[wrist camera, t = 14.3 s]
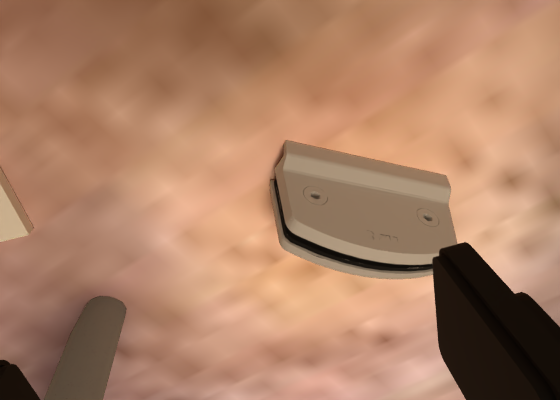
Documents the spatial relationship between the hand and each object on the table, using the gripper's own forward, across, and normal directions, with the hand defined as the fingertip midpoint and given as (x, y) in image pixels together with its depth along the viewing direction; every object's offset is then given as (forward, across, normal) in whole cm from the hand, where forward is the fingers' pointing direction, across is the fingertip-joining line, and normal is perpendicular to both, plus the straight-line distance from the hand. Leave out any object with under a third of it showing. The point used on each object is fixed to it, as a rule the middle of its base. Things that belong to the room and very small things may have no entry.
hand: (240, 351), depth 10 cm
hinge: (+31, -9, +14) cm, 35 cm away
